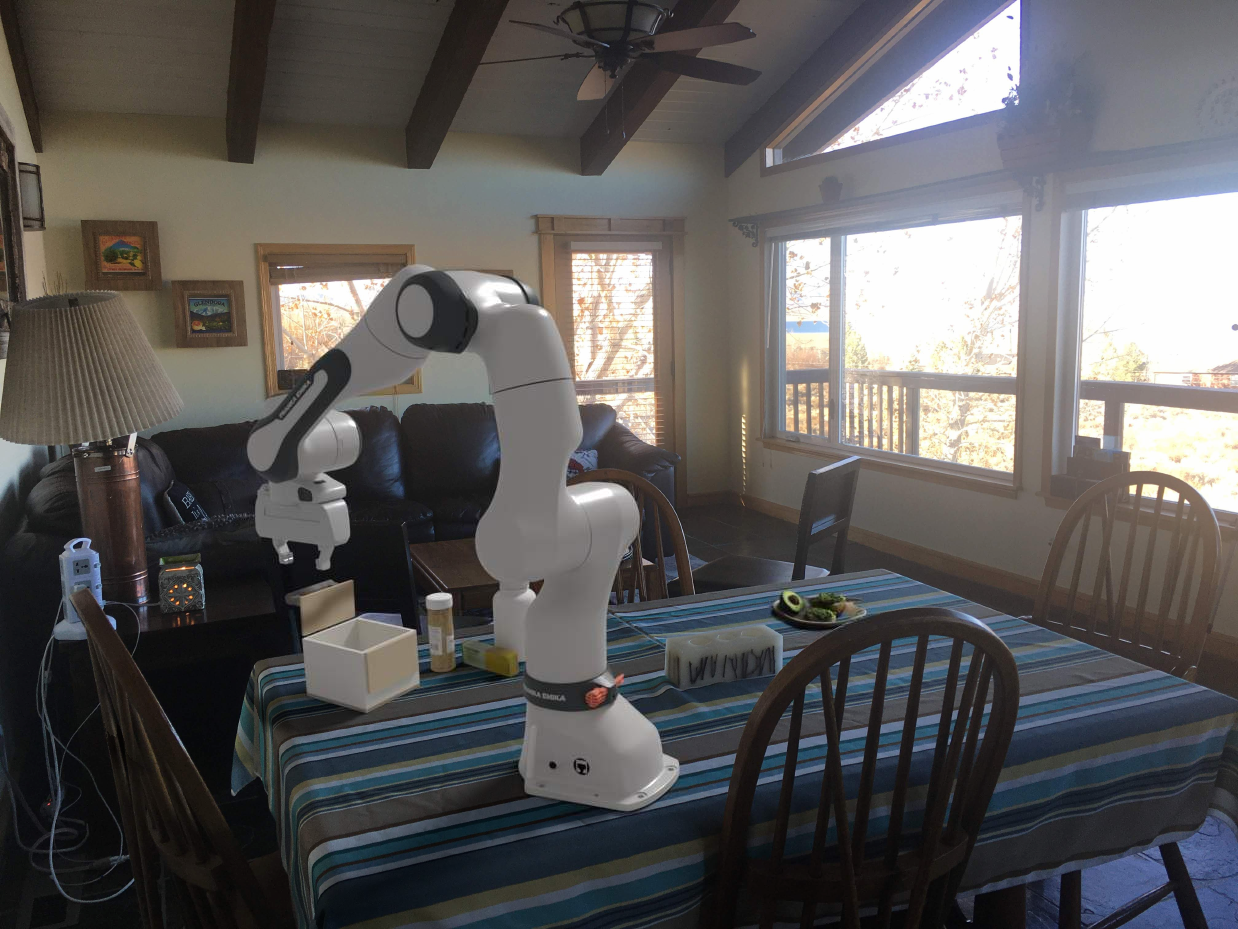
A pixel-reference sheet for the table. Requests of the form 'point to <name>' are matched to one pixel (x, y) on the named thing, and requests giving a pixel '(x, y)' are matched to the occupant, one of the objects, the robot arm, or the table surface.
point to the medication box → (490, 658)
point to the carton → (361, 664)
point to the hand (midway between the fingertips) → (304, 566)
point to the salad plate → (816, 609)
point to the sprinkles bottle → (441, 632)
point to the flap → (323, 604)
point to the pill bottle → (511, 616)
